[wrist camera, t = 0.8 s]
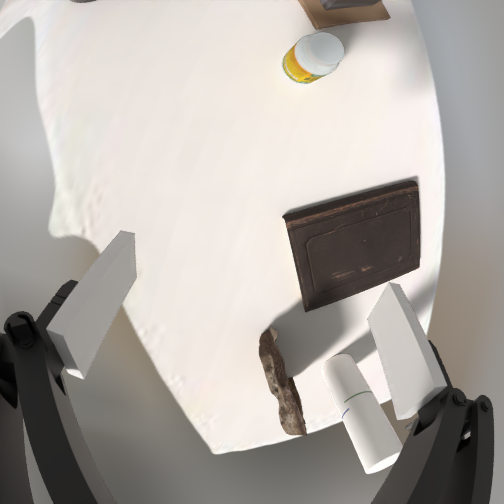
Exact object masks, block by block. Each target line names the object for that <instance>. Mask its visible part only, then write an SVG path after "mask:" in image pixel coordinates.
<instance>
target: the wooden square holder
mask: <svg viewBox="0 0 504 504" xmlns="http://www.w3.org/2000/svg"><path fill="white" fill-rule="evenodd" d="M298 1H299V2H300V4H301V6H302V7H303V9H304V10H305V12H306V14H307V15H308V17H309V19H310V20H311V22H312V24H313V26H314V27H315V29H321V28H326V27H331V26H337V25H343V24H350V23H358V22H366V21H376V20H387V19H389V18H390V16H389V14H388V12H387V10H386V9H385V7H384V5H383V4H382V2H381V0H298Z"/></svg>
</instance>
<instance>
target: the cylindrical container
mask: <svg viewBox="0 0 504 504" xmlns="http://www.w3.org/2000/svg"><path fill="white" fill-rule="evenodd" d="M321 372H322V375H323V377H324V379H325V382H326V384H327V386H328V388H329V390H330V393H331V395H332V397H333V399H334V402H335V404H336V406H337V408H338V410H339V413H340V415H341V417H342V419H343V422H344V424H345V426H346V429H347V431H348V433H349V435H350V438H351V440H352V442H353V444H354V447H355V449H356V451H357V454H358V456H359V458H360V460H361V463H362V465H363V467H364V470H365V472H366V473H367V474H370V473H374V472H377V471H380V470H382V469H384V468H386V467H388V466H390V465H391V464H393V463H395V462H396V460H397V458H398V456H399V454H400V452H401V450H402V448H403V446H402V444H401V442H400V440H399V439H398V437H397V435H396V433H395V431H394V429H393V428H392V426H391V424H390V422H389V420H388V419H387V417H386V415H385V413H384V412H383V410H382V408H381V406H380V405H379V403H378V401H377V399H376V398H375V396H374V394H373V392H372V391H371V389H370V387H369V385H368V384H367V382H366V380H365V379H364V377H363V375H362V373H361V372H360V370H359V368H358V367H357V365H356V363H355V362H354V360H353V358H352V356H350V355H349V354H338V355H336V356H333V357H332V358H330V359H329V360H327V361H326V362H325V363H324V365H323V366H322V369H321Z"/></svg>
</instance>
